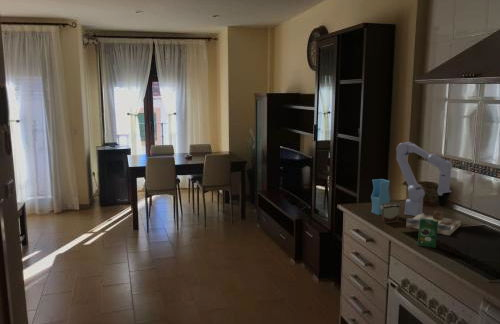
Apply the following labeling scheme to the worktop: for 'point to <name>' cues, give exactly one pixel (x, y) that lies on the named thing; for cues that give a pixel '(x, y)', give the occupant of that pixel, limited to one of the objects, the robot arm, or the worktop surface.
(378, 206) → the vase
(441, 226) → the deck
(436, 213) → the block
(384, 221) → the food container
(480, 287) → the worktop surface
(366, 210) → the worktop surface
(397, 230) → the worktop surface
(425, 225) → the coffee box
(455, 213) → the worktop surface
